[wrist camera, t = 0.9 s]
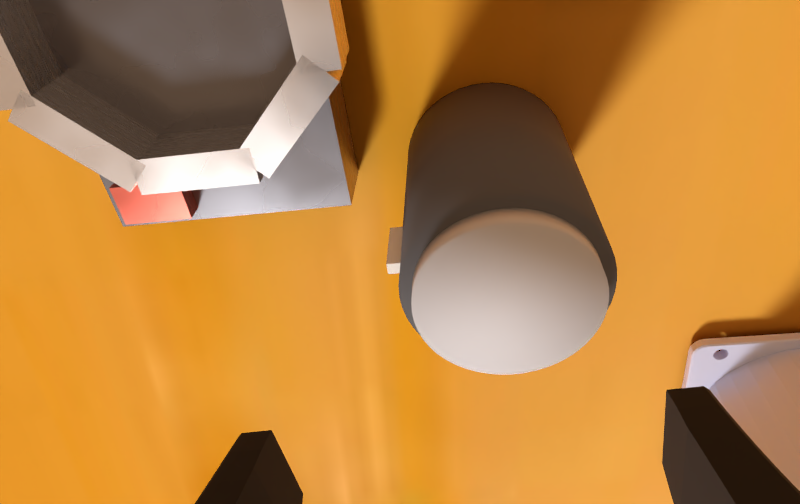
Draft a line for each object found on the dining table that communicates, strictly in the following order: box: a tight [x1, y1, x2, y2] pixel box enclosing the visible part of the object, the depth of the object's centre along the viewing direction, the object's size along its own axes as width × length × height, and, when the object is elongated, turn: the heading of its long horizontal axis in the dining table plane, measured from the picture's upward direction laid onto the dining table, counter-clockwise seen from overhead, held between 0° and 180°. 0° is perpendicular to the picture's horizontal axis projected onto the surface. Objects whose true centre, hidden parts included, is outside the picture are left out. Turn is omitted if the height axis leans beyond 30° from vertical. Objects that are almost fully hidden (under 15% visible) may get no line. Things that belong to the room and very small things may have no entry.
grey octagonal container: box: [0, 0, 358, 226], centre depth 15 cm, size 8×10×4 cm
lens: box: [387, 83, 617, 375], centre depth 16 cm, size 5×5×7 cm
